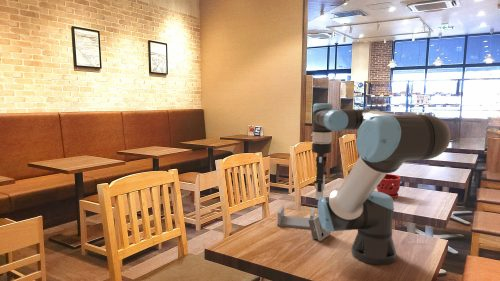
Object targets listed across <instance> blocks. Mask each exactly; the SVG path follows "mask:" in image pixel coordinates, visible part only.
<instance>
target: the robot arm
mask: <svg viewBox="0 0 500 281" xmlns="http://www.w3.org/2000/svg"><path fill="white" fill-rule="evenodd" d="M312 106H313V107H312V133H311V134H310V136H311V138H312V140H311V141H312V144H311V152H312V153H314V154H317V155H316V157H315V162H316V164H315V166H316V167H315V168H316V175H315V180H314V181H313V182H314V184H315V200H318V201H317V214H318V215H319V220H320V223H321V226H322V228H323V229H324V230H325V231H330V232H341V231H343V232H344V231H354V230H357V233H356V236H355V238H354V241H353V243H352V246H351V254H352V256H353V257H354V258H356V259H357V260H358V261H360V262H364V263H365V264H371V265H376V266H377V265H380V266H382V265H383V266H385V265H386V266H387V265H390V264H393V263H394V262H396V260H397V250H396V247H395V242H394V239H393V221H394V211H395V208H394V207H395V204H394V198H392V197H391V196H389V195H387V194H385V193H381V192H377V191H378V190H375V189H377V188H376V187H377V185H378V184H379V183H380V182H381V180H382V179H383V178H384V177H385V175H386V174H393V173H395V172H396V171H397V170H399V168H400V167H401V166H402V165H403V164H404V162H407V161H427V160H431V159H432V160H433V159H434V158H437V157H439V156H441V155H442V154H443V153H444V152H445V151H446V150H447V148H448V147H449V145H450V142H451V131H450V127H449V126H448V124H447V123H446V122H445V121H444V120H443V119H441V118H439V117H437V116H435V115H429V114H401V115H400V114H397V113H396V114H395V113H389V112H385V111H381V110H380V109H379V108H378V109H377V108H364V109H363V108H362V109H361V108H358V109H353V108H350V109H348V108H347V109H345V108H344V109H335V108H333V104H332V103H325V102H323V103H316V102H315V103H313V105H312ZM352 130H353V131H354V130H357V134H356V135H357V137H356V140H355V143H356V144H355V145H356V150H357V153H358V156H359V157H358V159H357V160H356V162H355V163H354V165H353V166H352V168H351V170H350V172H349V173H348V175H347V176H346V178H345V179H344V181H343V182H342V184H341V186H340V187H339V188H336V189H334V190H332V192H331V193H330V195H329V196H327V197H326V196H324V191H325V187H326V185H325V184H326V175H328V174H327V171H326V164H327V163H326V162H327V156H326V154H331V152H332V143H331V142H333V139H332V137H333V132H340V131H341V132H342V131H352ZM384 179H385V178H384Z"/></svg>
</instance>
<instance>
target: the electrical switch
mask: <svg viewBox="0 0 500 281" xmlns="http://www.w3.org/2000/svg"><path fill="white" fill-rule="evenodd" d="M309 225H310V229H309V230H310V232H311V237H312V239H313V240H317V241H318V242H322V241H324V240H325V239H326V238H327V237H329V236H330V235H331V231H325V230H324V229H323V228H322V226H321V223H320V220H319V215H315V217H313V218H312V219H310V220H309Z"/></svg>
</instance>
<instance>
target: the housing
mask: <svg viewBox="0 0 500 281" xmlns="http://www.w3.org/2000/svg"><path fill="white" fill-rule="evenodd" d="M315 212H316V208H315V207H311V211H310V214H309V217H301V216H292V215H291V216H290V215H285V205H281V206H280V208H279V210H278V211H277V227H287V228H294V229H295V228H298V229H308V230H311V229H310V225H309V220H310V219H312V218H313V217H315V216H316V215H315V214H316V213H315Z"/></svg>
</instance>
